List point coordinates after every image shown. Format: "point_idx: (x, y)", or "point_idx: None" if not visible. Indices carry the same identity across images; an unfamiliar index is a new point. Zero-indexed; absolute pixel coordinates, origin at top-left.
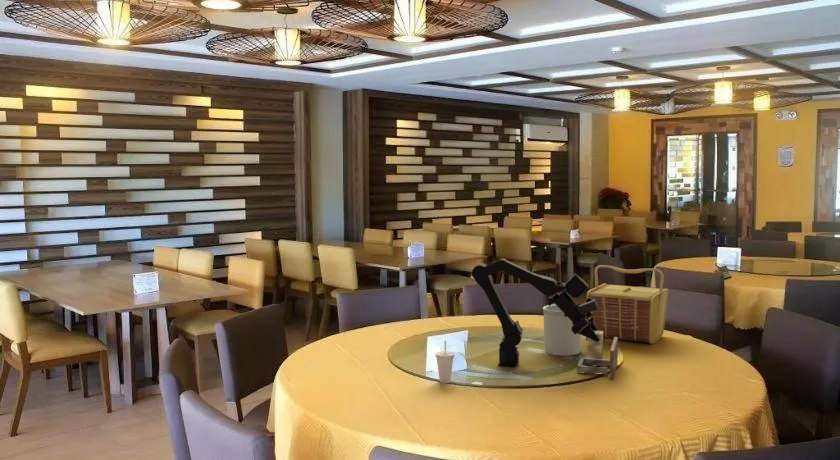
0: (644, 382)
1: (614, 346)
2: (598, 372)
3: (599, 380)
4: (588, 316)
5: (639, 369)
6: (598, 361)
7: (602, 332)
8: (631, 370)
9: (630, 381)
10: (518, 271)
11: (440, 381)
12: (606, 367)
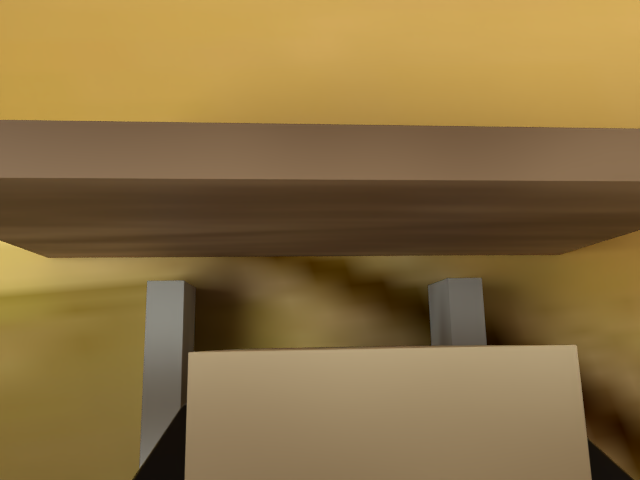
0: (536, 5)
1: (536, 135)
2: None
3: (622, 333)
4: None
5: (186, 41)
6: (184, 399)
7: (360, 358)
8: (236, 101)
9: (551, 99)
10: None
11: None
12: (455, 287)
